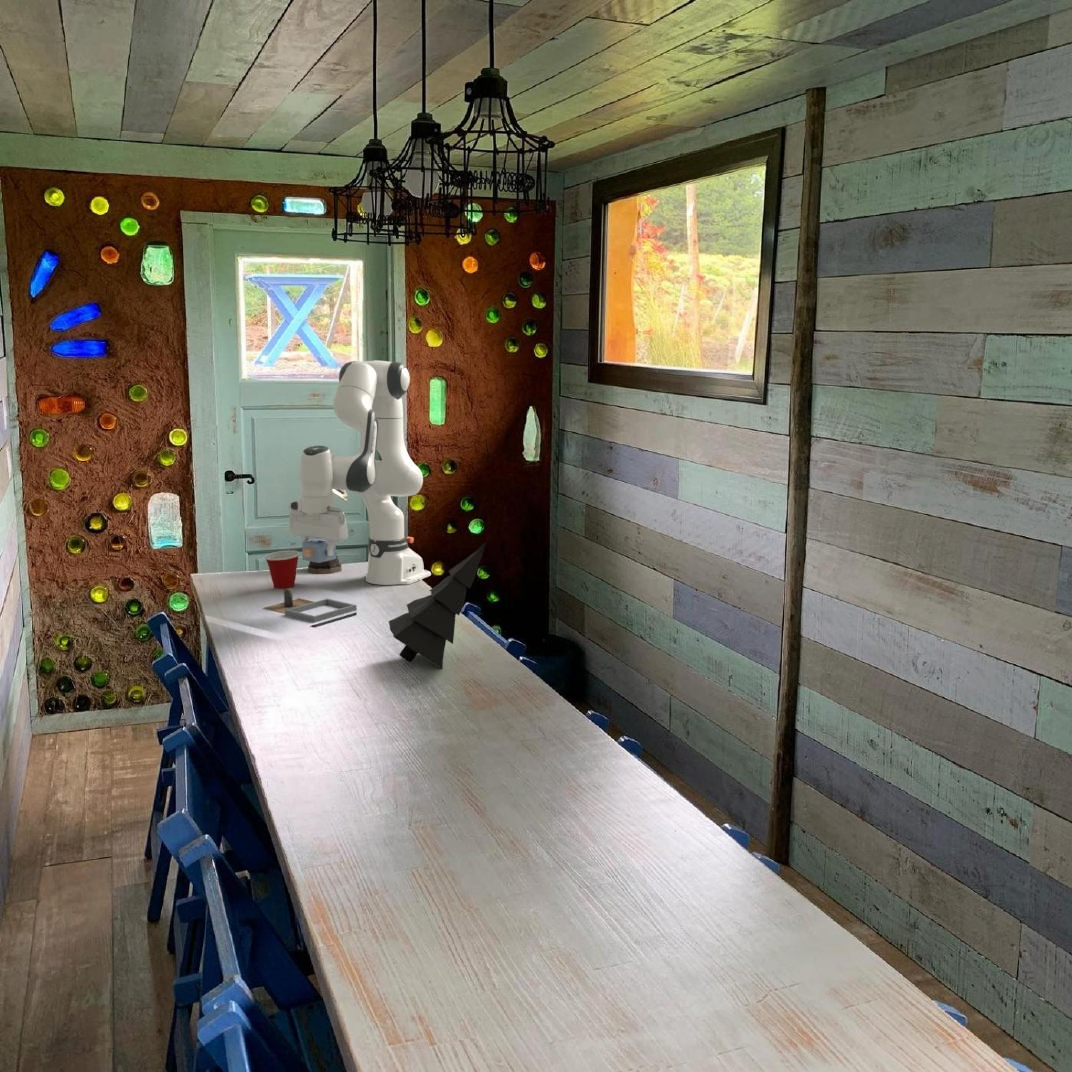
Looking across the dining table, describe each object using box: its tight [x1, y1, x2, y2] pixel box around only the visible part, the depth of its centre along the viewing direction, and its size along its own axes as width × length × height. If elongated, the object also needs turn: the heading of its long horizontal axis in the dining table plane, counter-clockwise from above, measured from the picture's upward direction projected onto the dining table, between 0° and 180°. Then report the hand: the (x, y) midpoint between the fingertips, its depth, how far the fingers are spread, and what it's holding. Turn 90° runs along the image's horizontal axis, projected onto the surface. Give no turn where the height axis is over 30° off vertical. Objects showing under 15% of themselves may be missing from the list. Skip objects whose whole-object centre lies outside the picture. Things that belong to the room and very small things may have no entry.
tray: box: [284, 598, 358, 628], centre depth 307 cm, size 16×12×3 cm
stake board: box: [262, 588, 314, 615], centre depth 314 cm, size 14×10×6 cm
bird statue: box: [307, 489, 349, 575], centre depth 363 cm, size 17×13×35 cm
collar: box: [301, 538, 337, 563], centre depth 303 cm, size 8×6×5 cm
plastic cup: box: [264, 550, 300, 590], centre depth 336 cm, size 11×11×12 cm
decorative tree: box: [388, 542, 487, 670], centre depth 268 cm, size 15×15×35 cm
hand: (319, 553), depth 304 cm, fingers closed on collar, 6 cm apart
